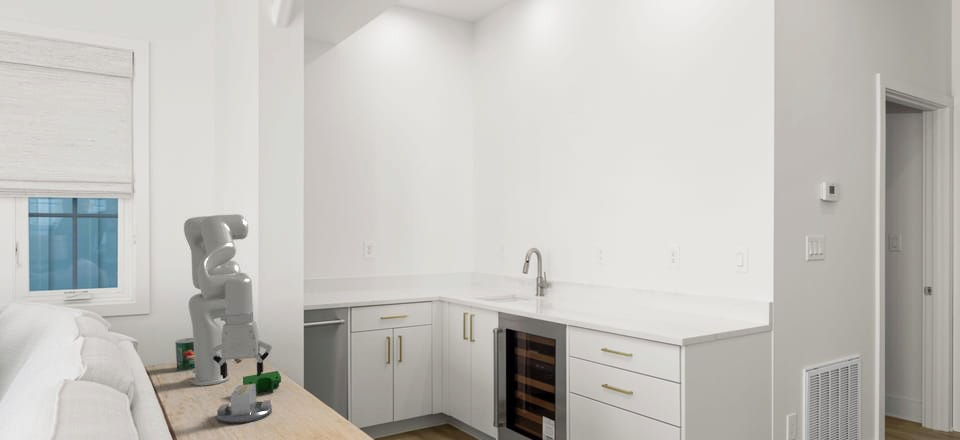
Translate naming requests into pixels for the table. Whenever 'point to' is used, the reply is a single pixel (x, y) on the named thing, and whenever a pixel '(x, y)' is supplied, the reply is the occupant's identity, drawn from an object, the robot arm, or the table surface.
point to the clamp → (264, 381)
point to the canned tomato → (185, 354)
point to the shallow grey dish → (257, 413)
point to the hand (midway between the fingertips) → (242, 376)
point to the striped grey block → (243, 399)
